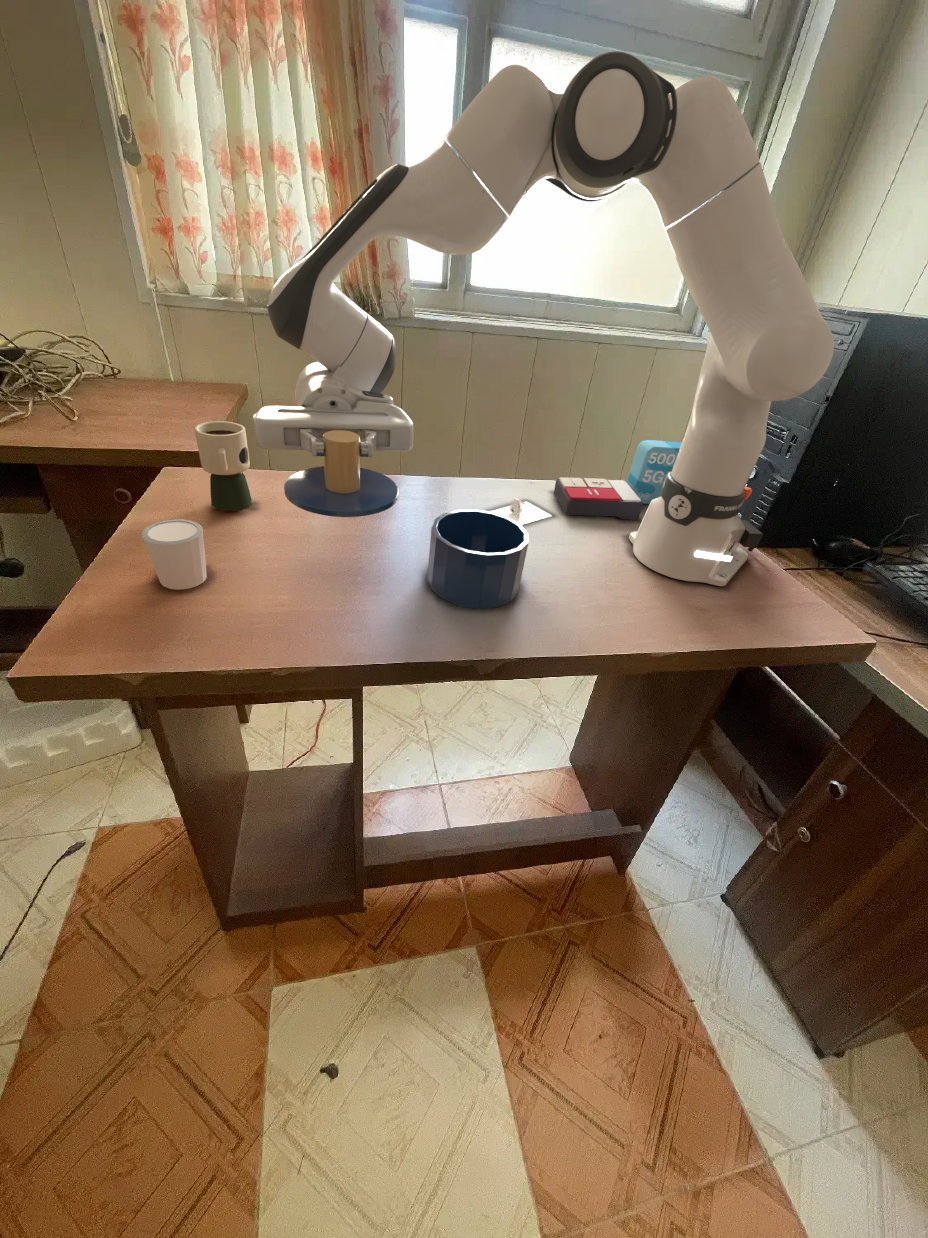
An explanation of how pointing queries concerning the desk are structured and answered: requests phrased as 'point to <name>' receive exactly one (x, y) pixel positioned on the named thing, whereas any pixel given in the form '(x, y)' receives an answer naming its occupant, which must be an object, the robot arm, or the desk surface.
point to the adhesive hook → (522, 512)
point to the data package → (652, 468)
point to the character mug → (225, 463)
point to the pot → (476, 558)
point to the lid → (341, 482)
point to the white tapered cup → (177, 552)
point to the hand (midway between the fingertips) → (343, 450)
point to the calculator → (597, 497)
